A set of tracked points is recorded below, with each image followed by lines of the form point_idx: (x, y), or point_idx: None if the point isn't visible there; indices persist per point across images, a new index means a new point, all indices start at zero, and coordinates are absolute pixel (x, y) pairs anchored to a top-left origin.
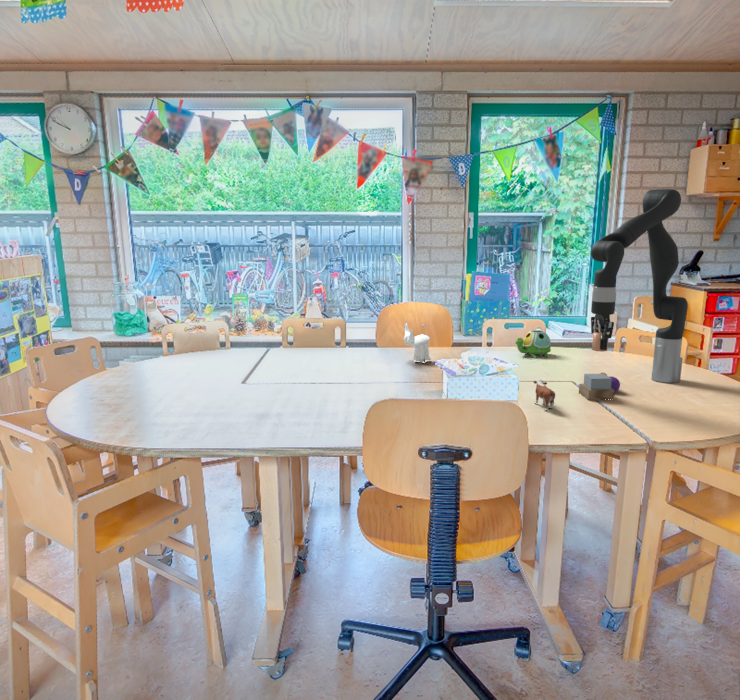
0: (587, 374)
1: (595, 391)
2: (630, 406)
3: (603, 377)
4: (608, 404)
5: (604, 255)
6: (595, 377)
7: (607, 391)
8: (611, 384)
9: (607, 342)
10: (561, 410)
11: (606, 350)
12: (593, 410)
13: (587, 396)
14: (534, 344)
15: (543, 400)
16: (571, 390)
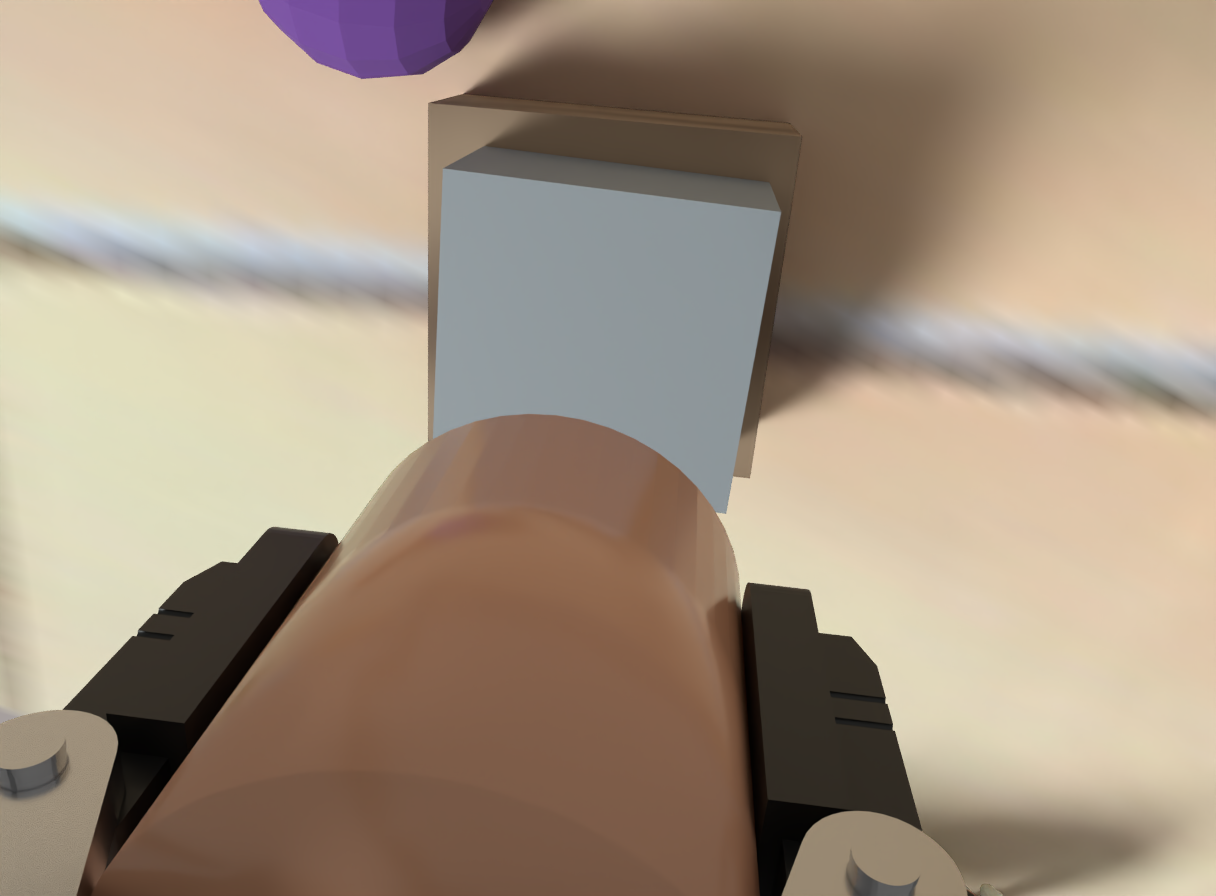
0: None
1: (760, 395)
2: (1087, 50)
3: (688, 307)
4: (937, 284)
5: None
6: (666, 423)
7: (784, 238)
8: (478, 4)
9: (701, 637)
10: (996, 795)
11: (713, 517)
12: (1087, 542)
13: None
14: None
15: None
16: (344, 422)
